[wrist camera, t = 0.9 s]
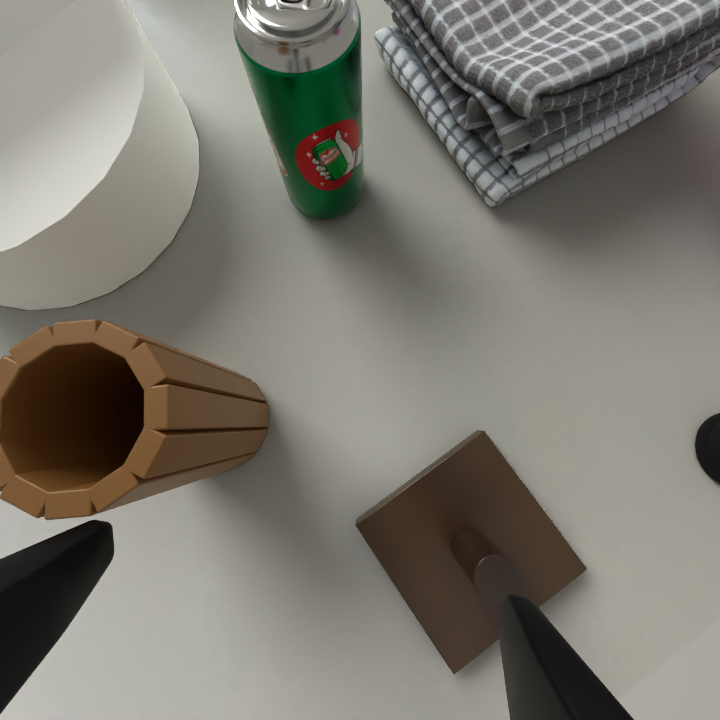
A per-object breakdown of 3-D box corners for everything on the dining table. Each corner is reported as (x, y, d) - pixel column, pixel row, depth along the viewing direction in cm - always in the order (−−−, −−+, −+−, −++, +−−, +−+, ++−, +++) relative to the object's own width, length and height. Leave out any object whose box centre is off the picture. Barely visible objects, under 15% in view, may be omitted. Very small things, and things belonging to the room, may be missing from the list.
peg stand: (449, 661, 21) (479, 747, 15) (355, 519, 22) (351, 551, 17) (575, 561, 22) (648, 609, 16) (477, 429, 23) (513, 431, 18)
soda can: (298, 149, 26) (242, -73, 15) (370, 162, 26) (372, -54, 14) (281, 216, 26) (207, 38, 14) (355, 229, 25) (344, 60, 14)
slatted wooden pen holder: (203, 490, 23) (27, 562, 11) (153, 407, 24) (-59, 391, 12) (287, 431, 23) (205, 439, 11) (235, 352, 24) (109, 284, 12)
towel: (702, 95, 27) (839, -40, 19) (477, 219, 25) (526, 129, 18) (574, -56, 29) (649, -232, 21) (363, 51, 28) (361, -93, 20)
